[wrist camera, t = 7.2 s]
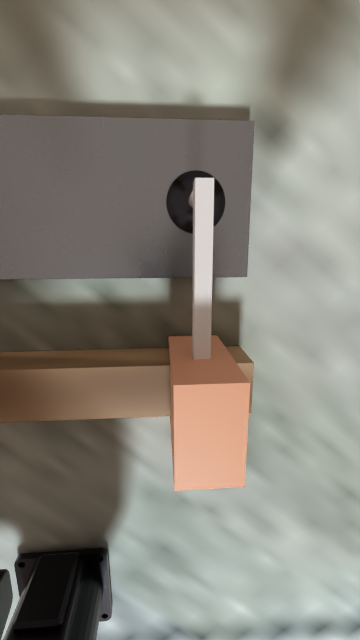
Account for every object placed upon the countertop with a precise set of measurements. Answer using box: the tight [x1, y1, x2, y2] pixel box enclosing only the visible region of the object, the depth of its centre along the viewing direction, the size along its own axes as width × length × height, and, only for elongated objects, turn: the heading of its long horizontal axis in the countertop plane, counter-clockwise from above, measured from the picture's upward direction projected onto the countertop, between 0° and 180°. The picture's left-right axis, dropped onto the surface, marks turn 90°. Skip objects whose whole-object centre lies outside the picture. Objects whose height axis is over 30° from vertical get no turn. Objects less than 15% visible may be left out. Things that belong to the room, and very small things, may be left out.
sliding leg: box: [169, 178, 250, 491], centre depth 14 cm, size 13×3×7 cm, turn 0°
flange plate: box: [0, 114, 254, 279], centre depth 16 cm, size 8×20×1 cm, turn 90°
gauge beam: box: [0, 346, 254, 423], centre depth 14 cm, size 13×20×6 cm, turn 90°
